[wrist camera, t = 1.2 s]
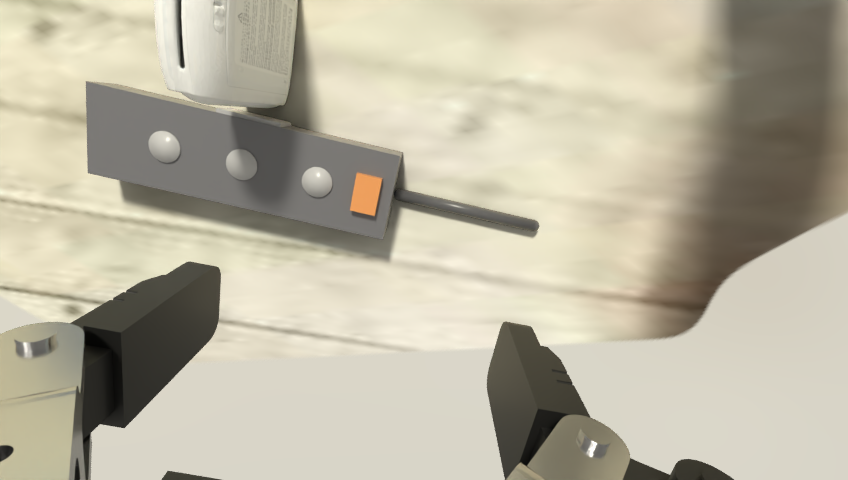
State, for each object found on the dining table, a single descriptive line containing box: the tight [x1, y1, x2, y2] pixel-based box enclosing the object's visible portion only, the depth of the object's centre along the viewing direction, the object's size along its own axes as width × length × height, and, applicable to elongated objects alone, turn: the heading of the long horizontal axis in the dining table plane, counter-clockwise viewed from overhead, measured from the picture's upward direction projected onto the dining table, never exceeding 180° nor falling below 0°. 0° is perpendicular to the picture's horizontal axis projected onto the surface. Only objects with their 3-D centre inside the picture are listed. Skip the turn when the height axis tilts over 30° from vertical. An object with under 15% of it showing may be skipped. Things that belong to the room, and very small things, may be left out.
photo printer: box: [154, 0, 298, 108], centre depth 26 cm, size 10×4×12 cm, turn 169°
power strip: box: [86, 81, 539, 240], centre depth 33 cm, size 7×37×4 cm, turn 77°
